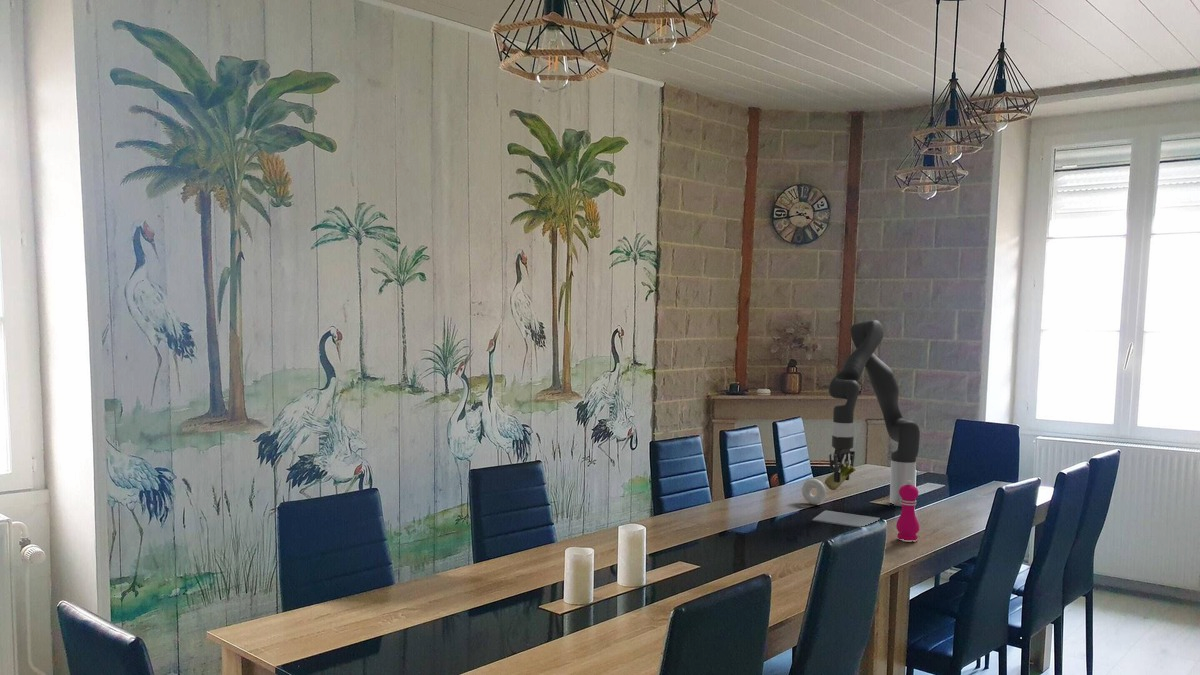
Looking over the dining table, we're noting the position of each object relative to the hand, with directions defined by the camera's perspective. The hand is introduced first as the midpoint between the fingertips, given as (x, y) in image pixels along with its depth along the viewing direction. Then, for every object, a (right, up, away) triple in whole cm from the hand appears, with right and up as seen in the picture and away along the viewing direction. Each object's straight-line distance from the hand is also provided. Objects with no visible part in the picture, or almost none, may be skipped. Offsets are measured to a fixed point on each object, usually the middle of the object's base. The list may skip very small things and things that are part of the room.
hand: (841, 480), depth 304 cm
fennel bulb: (-4, -3, +4) cm, 6 cm away
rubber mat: (+2, -14, -1) cm, 14 cm away
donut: (-4, -13, +23) cm, 27 cm away
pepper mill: (+14, -15, -26) cm, 33 cm away
